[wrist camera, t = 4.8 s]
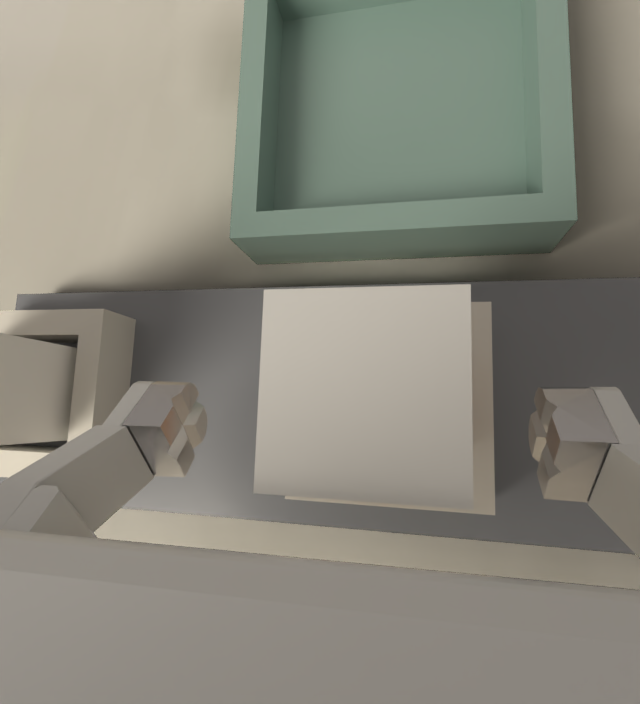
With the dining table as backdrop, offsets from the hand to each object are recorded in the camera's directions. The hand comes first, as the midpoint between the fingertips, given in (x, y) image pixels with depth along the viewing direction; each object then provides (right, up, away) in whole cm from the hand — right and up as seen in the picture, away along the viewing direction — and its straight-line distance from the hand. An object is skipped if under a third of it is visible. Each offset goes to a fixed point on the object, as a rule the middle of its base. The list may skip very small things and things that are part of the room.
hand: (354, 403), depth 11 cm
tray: (+2, +11, +8) cm, 14 cm away
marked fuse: (+2, -1, +5) cm, 6 cm away
